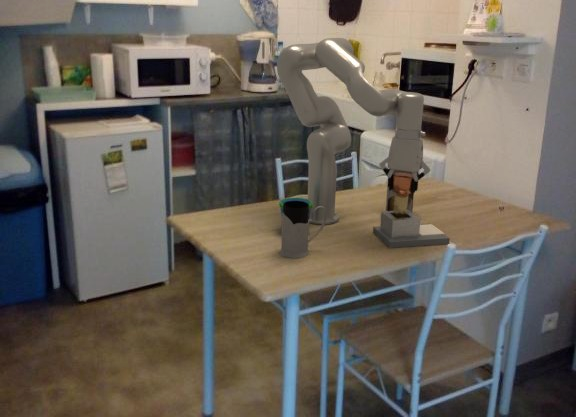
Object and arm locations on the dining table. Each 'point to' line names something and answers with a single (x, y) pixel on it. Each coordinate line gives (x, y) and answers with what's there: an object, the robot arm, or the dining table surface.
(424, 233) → the cream pad
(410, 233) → the grey hollow socket block
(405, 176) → the copper headed peg
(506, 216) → the dining table surface
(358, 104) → the robot arm
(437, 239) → the charcoal board
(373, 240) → the dining table surface
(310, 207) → the snack cup
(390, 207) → the coffee box
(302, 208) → the glass holder
